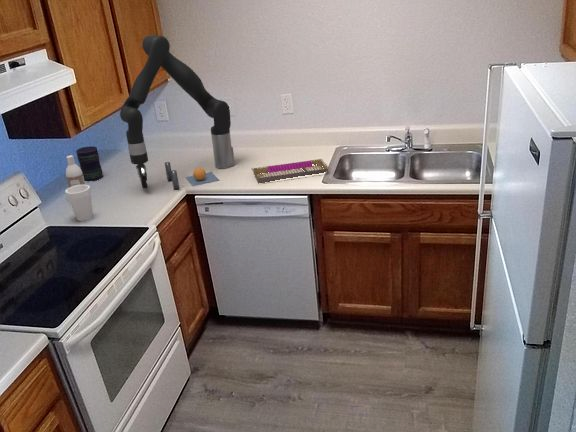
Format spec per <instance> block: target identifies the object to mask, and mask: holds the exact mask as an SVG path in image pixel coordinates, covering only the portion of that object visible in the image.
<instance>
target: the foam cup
mask: <svg viewBox="0 0 576 432" xmlns="http://www.w3.org/2000/svg"><path fill="white" fill-rule="evenodd" d="M64 191H65V195H66V198H67V200H68V202H69V205H70V207H71V209H72V212H73V213H74V216H75V219H76V220H77V221H78V222H86V221H89V220H91V219H93V217H94V216H93V215H94V214H93V213H94V212H93V204H92V203H93V202H92V194H91V193H92V190H91V186H90V185H89V184H85V185H76V186H72V187H70V188H69V187H68V188H66V190H64Z"/></svg>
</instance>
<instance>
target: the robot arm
mask: <svg viewBox="0 0 576 432" xmlns="http://www.w3.org/2000/svg"><path fill="white" fill-rule="evenodd" d="M170 45H171V44H170V42H169V40H168V39H167V37H166V36H163V35H158V34H148V35H147V36H145V37H144V38H143V39H142V43H141V46H142V49H143V51H144V53H145V54H146V55H147V56H148V57H147V60H146V63H144V64H145V65H144V66H143V68H142V70H141V71H140V72H139V73H138V75H137V76H136V78H135V80H134V82H133V84H132V87H131V90H130V92H129V94H128V97H127V98H126V99H125V101H124V102H123V105H122V106H121V109H120V112H119V117H120V119H121V121H123V122H124V123H126V124H127V130H126V132H125V134H126V136H125V137H126V141H127V147H128V148H127V149H128V153H129V158H130V162H131V164H132V165H136V166H135V169H136V170H137V175H138V178H139V180H140V185H141V188H142V189H143V190H144V189H148V182H147V181H148V173H147V166H146V165H145V164H146V163H147V162H149V156H148V151H147V146H146V143H145V138H144V134H143V130H144V129H143V127H144V126H143V125H144V120H143V115H142V112H141V111H140V109H139V108H140V106H141V105H143V104H145V103H146V100H147V99H148V96H149V92H150V91H151V90H150V89H151V87H152V85H153V83H154V80H155V78H156V76H157V74H158V72H159V71H160V69H161V68H162V69H163V70H164V71H165V72H166V74H168V75H169V77H171V78H172V79H173V80H174V81H175V83H176V84H177V85H178V86H179V87H180V88H181V89H182V90H184V92H185V93H187V95H189V96H190V98H192V99H193V100H194V101H196V103H197V104H198V105H199V106H200V109H202V110H203V112H204V113H205V114H206V115H207V116H208V117H209V118H211V119H213V126H211V128H210V135H211V143H212V150H213V157H214V158H213V159H214V165H215V168H217V169H228V168H231V167H233V166H235V165H236V163H235V162H236V161H235V154H234V147H233V146H232V139H231V130H230V129H231V126H232V125H231V124H232V123H231V122H232V121H231V110H230V106H229V104H228V103H227V102H226V101H224V100H221V99H217V98H215V97H214V96H213V95H211V93H210V92H209V91H208V90H207V89H206V88H205V86H204V83H203V81H202V79H201V77H199V75H198V73H196V72H195V71H194V70H193V69H192V68H191V67H189V66H188V65H187V64H186V63H185V62H183V61H182V60H180V59H178V58H177V57H176V56H174V55H173V54H172V52H170V47H171V46H170Z"/></svg>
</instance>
